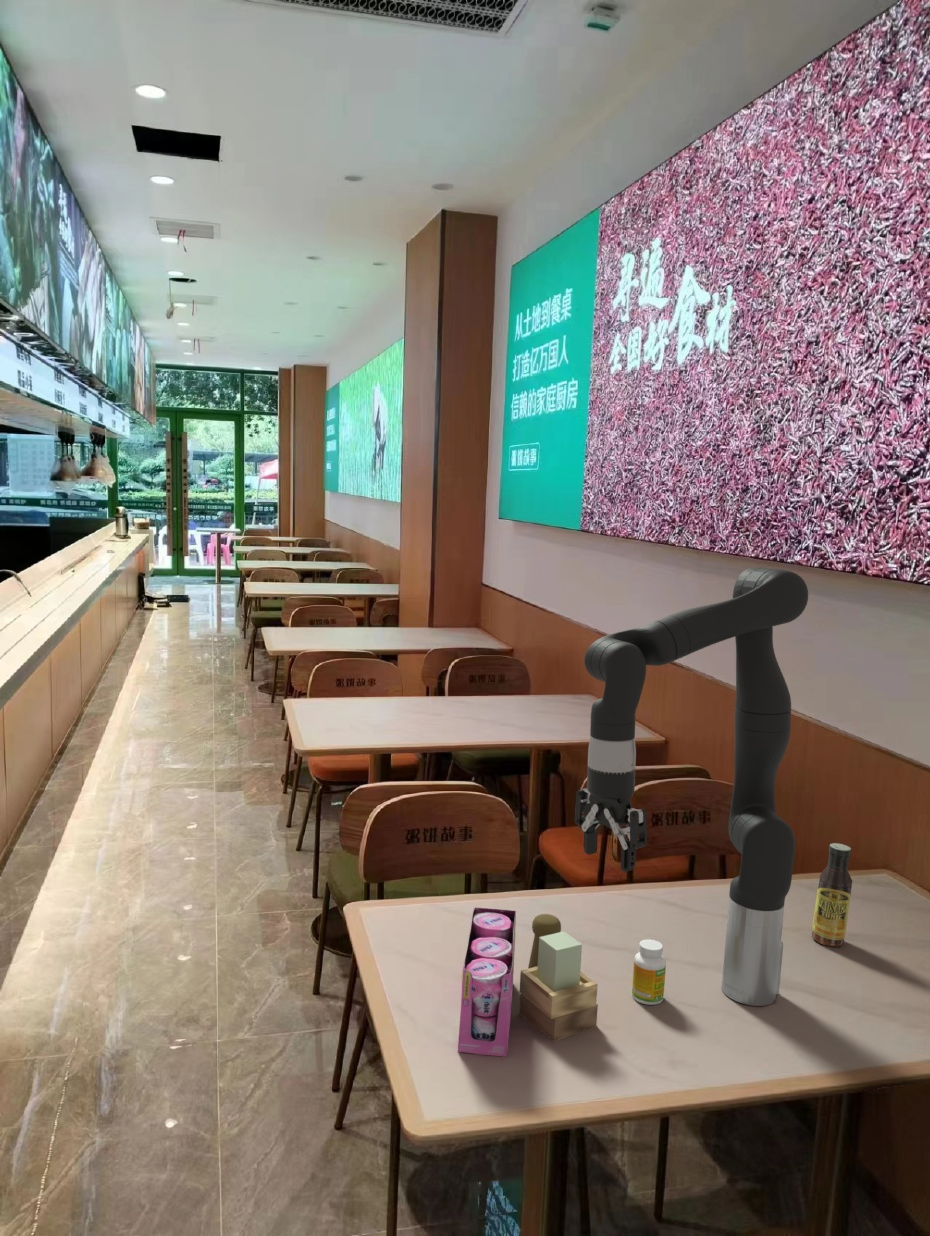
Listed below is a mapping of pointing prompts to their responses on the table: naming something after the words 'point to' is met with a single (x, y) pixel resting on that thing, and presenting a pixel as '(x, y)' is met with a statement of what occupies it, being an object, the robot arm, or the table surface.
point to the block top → (558, 994)
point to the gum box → (488, 983)
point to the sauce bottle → (833, 898)
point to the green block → (559, 961)
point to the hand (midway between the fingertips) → (608, 861)
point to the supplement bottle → (649, 973)
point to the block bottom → (558, 1020)
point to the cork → (542, 933)
